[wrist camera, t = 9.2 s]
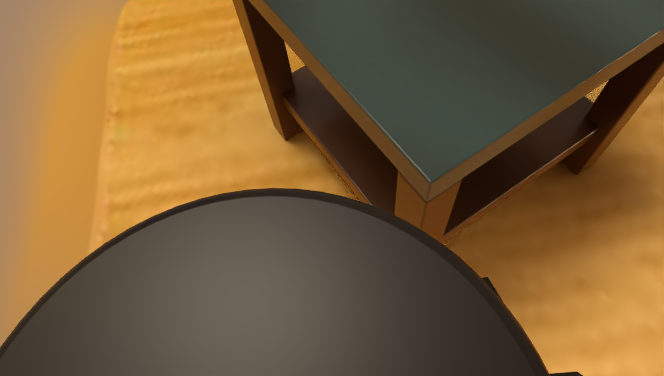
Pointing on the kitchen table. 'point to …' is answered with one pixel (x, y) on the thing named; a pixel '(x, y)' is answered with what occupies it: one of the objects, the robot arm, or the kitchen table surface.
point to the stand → (453, 91)
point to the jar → (271, 299)
